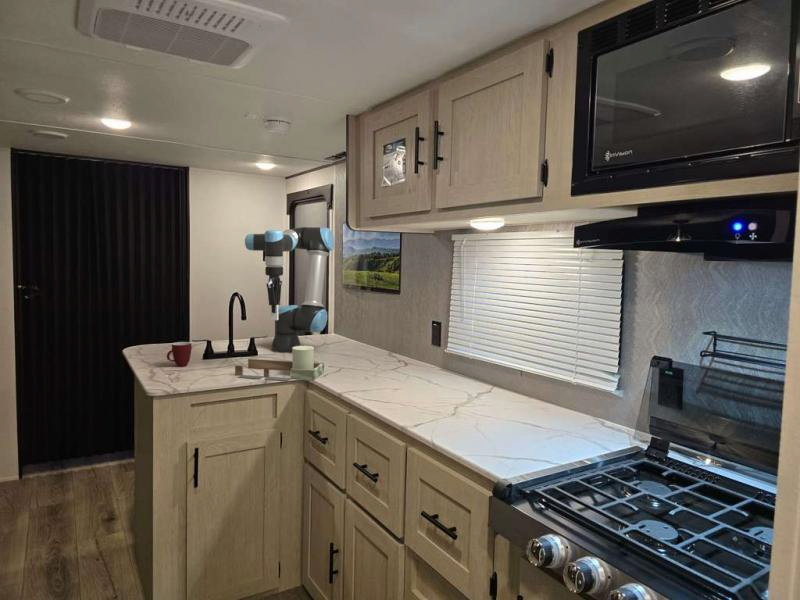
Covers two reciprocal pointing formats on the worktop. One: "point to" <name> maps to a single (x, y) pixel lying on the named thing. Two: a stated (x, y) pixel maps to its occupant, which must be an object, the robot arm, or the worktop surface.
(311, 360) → the can
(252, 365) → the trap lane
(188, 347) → the mug
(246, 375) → the mats
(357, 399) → the worktop surface
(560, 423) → the worktop surface
